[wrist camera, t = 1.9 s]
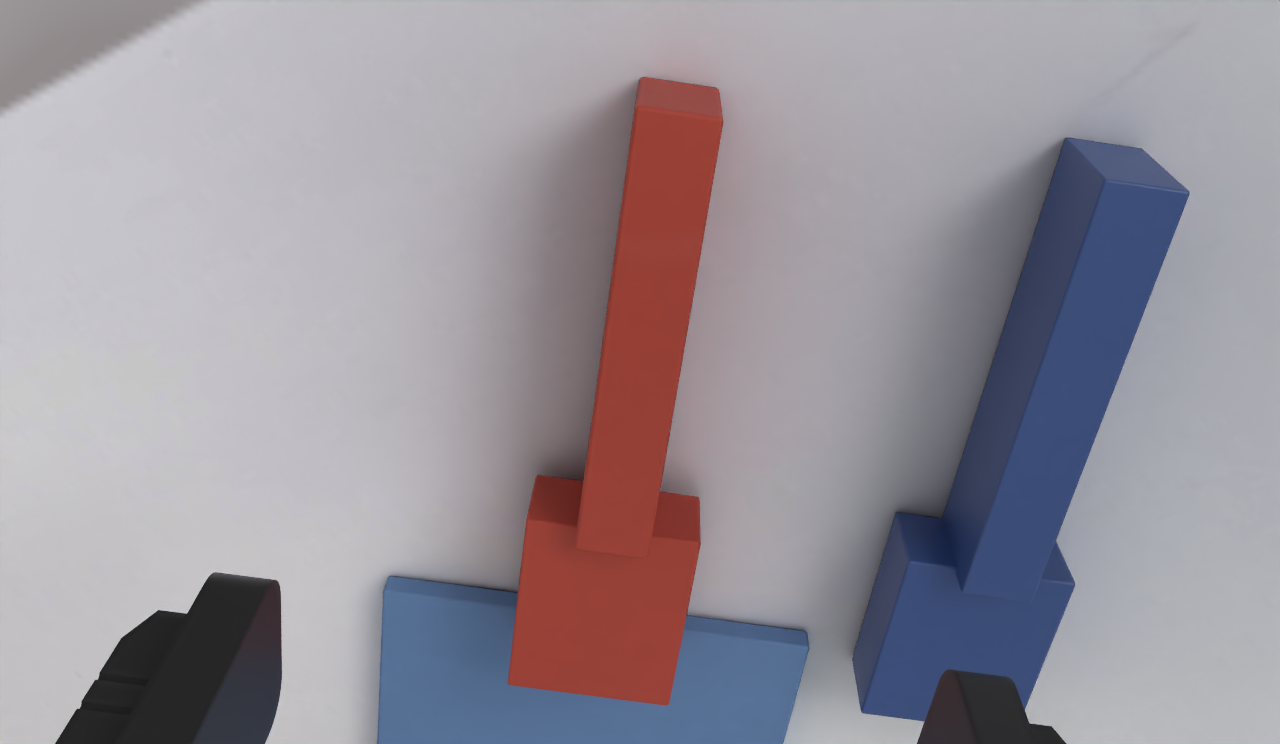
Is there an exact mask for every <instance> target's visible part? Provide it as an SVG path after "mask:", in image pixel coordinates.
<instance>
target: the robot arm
mask: <svg viewBox="0 0 1280 744" xmlns="http://www.w3.org/2000/svg"><path fill="white" fill-rule="evenodd" d="M281 680H282V656H281V592H280V586H279V583H278V581H276V580H271V579H263V578H255V577H247V576H240V575H232V574H224V573H216V572H215V573H213V574H211V575H210V576H209V577H208V579H207V580H206V582H205V583H204V585H203V587H202V589H201V590H200V592H199V594H198V596H197V597H196V599H195V601H194V603H193V605H192V606H191V608H190V610H189V612H188V613H187V614H184V613H176V612H168V611H160V610H158V611H157V612H155V613H154V614H153V615H152V616H150V617H149V618H148V619H146V620H145V621H144V622H142V623H141V624H140V625H138V626H137V627H136V628H134V629H133V630H132V631H130V632H129V633H128V634H126V635H125V636H124V637H122V638H121V640H120V641H119V643H118V644H117V646H116V648H115V649H114V651H113V652H112V654H111V656H110V657H109V659H108V660H107V662H106V664H105V665H104V667H103V668H102V670H101V672H100V675H99V679H98V680H95V681H94V683H93V684H92V686H91V687H90V689H89V691H88V692H87V694H86V695H85V697H84V699H83V700H82V704H81V707H80V709H77V710H76V711H75V713H74V714H73V716H72V718H71V719H70V721H69V722H68V724H67V726H66V727H65V729H64V730H63V732H62V734H61V735H60V737H59V738H58V740H57V742H56V743H55V744H265V742H266V740H267V737H268V735H269V733H270V730H271V727H272V725H273V721H274V718H275V715H276V711H277V706H278V702H279V696H280V690H281ZM917 744H1066V743H1065V742H1064V741H1063V739H1062V738H1061V737H1060V736H1059V735H1058V733H1057V732H1056V731H1055V730H1054V729H1053V728H1052V726H1044V725H1036V724H1029V721H1028V719H1027V716H1026V713H1025V710H1024V707H1023V705H1022V702H1021V699H1020V696H1019V693H1018V690H1017V688H1016V686H1015V684H1014V682H1013V680H1012V679H1011V678H1009V677H1006V676H998V675H990V674H982V673H975V672H967V671H959V670H951V669H948V670H946V671H945V672H944V673H943V674H942V676H941V678H940V680H939V682H938V685H937V688H936V691H935V694H934V697H933V700H932V702H931V705H930V708H929V711H928V714H927V717H926V719H925V722H924V725H923V728H922V731H921V734H920V737H919V739H918V742H917Z"/></svg>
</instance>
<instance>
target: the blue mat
mask: <svg viewBox="0 0 1280 744" xmlns="http://www.w3.org/2000/svg"><path fill="white" fill-rule="evenodd" d="M517 597H518V593H514V592H507V591H499V590H492V589H484V588H477V587H469V586H462V585H454V584H447V583H439V582H432V581H424V580H417V579H409V578H402V577H394V576H390V577H389V578H388V580H387V582H386V585H385V588H384V591H383V611H382V637H381V663H380V689H379V715H378V741H377V744H783V742H784V738H785V735H786V731H787V727H788V724H789V720H790V716H791V713H792V709H793V706H794V702H795V698H796V695H797V691H798V687H799V684H800V680H801V676H802V673H803V669H804V665H805V662H806V658H807V654H808V651H809V642H808V635H807V632H805V631H799V630H791V629H784V628H776V627H769V626H761V625H754V624H746V623H739V622H731V621H724V620H716V619H709V618H701V617H694V616H686V621H685V626H684V631H683V636H682V642H681V647H680V652H679V657H678V662H677V667H676V672H675V677H674V683H673V688H672V693H671V698H670V703H669V705H668V706H664V705H656V704H649V703H641V702H633V701H626V700H618V699H610V698H603V697H595V696H588V695H580V694H572V693H565V692H557V691H549V690H542V689H534V688H526V687H519V686H511V685H508V676H509V667H510V658H511V649H512V640H513V632H514V623H515V614H516V605H517Z"/></svg>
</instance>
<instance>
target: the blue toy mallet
mask: <svg viewBox="0 0 1280 744" xmlns="http://www.w3.org/2000/svg"><path fill="white" fill-rule="evenodd" d="M1188 196H1189V191H1188V190H1187V189H1186V188H1185V187H1184V186H1183V185H1181V184H1180V183H1179V182H1178V181H1177V180H1176V179H1175V178H1174V177H1173V176H1171V175H1170V174H1169V173H1168V172H1167V171H1166V170H1165V169H1164V168H1163V167H1162V166H1160V165H1159V164H1158V163H1157V162H1156V161H1155V160H1154V159H1153V158H1152V157H1150V156H1149V155H1148V154H1147V153H1146V152H1145V151H1144V150H1143V149H1141V148H1134V147H1127V146H1120V145H1114V144H1107V143H1100V142H1093V141H1086V140H1080V139H1073V138H1066V139H1065V140H1064V143H1063V146H1062V149H1061V153H1060V156H1059V159H1058V162H1057V165H1056V168H1055V171H1054V174H1053V177H1052V180H1051V183H1050V187H1049V190H1048V193H1047V196H1046V199H1045V202H1044V205H1043V208H1042V211H1041V214H1040V217H1039V221H1038V224H1037V227H1036V230H1035V233H1034V236H1033V239H1032V242H1031V245H1030V248H1029V251H1028V255H1027V258H1026V261H1025V264H1024V267H1023V270H1022V273H1021V276H1020V279H1019V282H1018V285H1017V289H1016V292H1015V295H1014V298H1013V301H1012V304H1011V307H1010V310H1009V313H1008V316H1007V319H1006V323H1005V326H1004V329H1003V332H1002V335H1001V338H1000V341H999V344H998V347H997V350H996V353H995V357H994V360H993V363H992V366H991V369H990V372H989V375H988V378H987V381H986V384H985V387H984V391H983V394H982V397H981V400H980V403H979V406H978V409H977V412H976V415H975V418H974V421H973V425H972V428H971V431H970V434H969V437H968V440H967V443H966V446H965V449H964V452H963V455H962V459H961V462H960V465H959V468H958V471H957V474H956V477H955V480H954V483H953V486H952V489H951V493H950V496H949V499H948V502H947V505H946V508H945V511H944V514H943V517H942V519H941V518H934V517H926V516H919V515H912V514H904V513H896V514H895V517H894V520H893V523H892V527H891V530H890V533H889V537H888V540H887V543H886V547H885V550H884V553H883V557H882V560H881V563H880V567H879V570H878V574H877V577H876V580H875V584H874V587H873V590H872V594H871V597H870V600H869V604H868V607H867V610H866V614H865V617H864V620H863V624H862V627H861V630H860V634H859V637H858V640H857V644H856V647H855V650H854V654H853V657H852V662H853V667H854V673H855V679H856V685H857V690H858V696H859V702H860V708H861V712H862V713H865V714H873V715H881V716H888V717H896V718H903V719H911V720H919V721H925V719H926V717H927V714H928V711H929V708H930V705H931V702H932V700H933V697H934V694H935V691H936V688H937V685H938V682H939V680H940V678H941V676H942V674H943V673H944V672H945V671H946V670H948V669H951V670H959V671H967V672H975V673H982V674H990V675H998V676H1006V677H1009V678H1011V679H1012V680H1013V682H1014V684H1015V686H1016V688H1017V690H1018V693H1019V696H1020V699H1021V702H1022V705H1023V707H1024V710H1025V708H1026V705H1027V703H1028V700H1029V698H1030V695H1031V693H1032V690H1033V688H1034V685H1035V683H1036V680H1037V678H1038V675H1039V673H1040V671H1041V668H1042V666H1043V663H1044V661H1045V658H1046V656H1047V653H1048V651H1049V648H1050V646H1051V643H1052V641H1053V638H1054V636H1055V634H1056V631H1057V629H1058V626H1059V624H1060V621H1061V619H1062V616H1063V614H1064V611H1065V609H1066V606H1067V604H1068V602H1069V599H1070V597H1071V594H1072V592H1073V589H1074V587H1075V582H1074V580H1073V577H1072V575H1071V573H1070V571H1069V569H1068V566H1067V564H1066V562H1065V560H1064V558H1063V556H1062V553H1061V551H1060V549H1059V547H1058V545H1057V542H1056V538H1057V536H1058V533H1059V531H1060V528H1061V525H1062V523H1063V520H1064V518H1065V515H1066V512H1067V510H1068V507H1069V505H1070V502H1071V499H1072V497H1073V494H1074V492H1075V489H1076V487H1077V484H1078V481H1079V479H1080V476H1081V474H1082V471H1083V468H1084V466H1085V463H1086V461H1087V458H1088V455H1089V453H1090V450H1091V448H1092V445H1093V443H1094V440H1095V437H1096V435H1097V432H1098V430H1099V427H1100V424H1101V422H1102V419H1103V417H1104V414H1105V411H1106V409H1107V406H1108V404H1109V401H1110V398H1111V396H1112V393H1113V391H1114V388H1115V386H1116V383H1117V380H1118V378H1119V375H1120V373H1121V370H1122V367H1123V365H1124V362H1125V360H1126V357H1127V354H1128V352H1129V349H1130V347H1131V344H1132V341H1133V339H1134V336H1135V334H1136V331H1137V329H1138V326H1139V323H1140V321H1141V318H1142V316H1143V313H1144V310H1145V308H1146V305H1147V303H1148V300H1149V297H1150V295H1151V292H1152V290H1153V287H1154V285H1155V282H1156V279H1157V277H1158V274H1159V272H1160V269H1161V266H1162V264H1163V261H1164V259H1165V256H1166V253H1167V251H1168V248H1169V246H1170V243H1171V240H1172V238H1173V235H1174V233H1175V230H1176V228H1177V225H1178V222H1179V220H1180V217H1181V215H1182V212H1183V209H1184V207H1185V204H1186V202H1187V199H1188Z"/></svg>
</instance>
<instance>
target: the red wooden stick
mask: <svg viewBox="0 0 1280 744" xmlns="http://www.w3.org/2000/svg"><path fill="white" fill-rule="evenodd" d="M722 127H723V116H722V108H721V101H720V93H719V89H717V88H714V87H707V86H700V85H694V84H687V83H680V82H673V81H667V80H660V79H653V78H646V77H643V78H641V79H640V80H639V84H638V91H637V97H636V103H635V109H634V116H633V124H632V131H631V138H630V145H629V153H628V160H627V167H626V175H625V182H624V189H623V196H622V204H621V211H620V218H619V226H618V233H617V240H616V247H615V255H614V262H613V269H612V276H611V284H610V291H609V298H608V306H607V313H606V320H605V327H604V335H603V342H602V349H601V357H600V364H599V371H598V378H597V386H596V393H595V400H594V407H593V415H592V422H591V429H590V437H589V444H588V451H587V458H586V466H585V473H584V480H583V481H578V480H571V479H563V478H556V477H549V476H542V475H537V476H536V478H535V483H534V487H533V492H532V496H531V501H530V505H529V510H528V514H527V519H526V526H525V535H524V544H523V553H522V562H521V570H520V579H519V588H518V597H517V605H516V614H515V623H514V632H513V640H512V649H511V658H510V667H509V676H508V685H511V686H519V687H526V688H534V689H542V690H549V691H557V692H565V693H572V694H580V695H588V696H595V697H603V698H610V699H618V700H626V701H633V702H641V703H649V704H656V705H664V706H668V705H669V703H670V698H671V693H672V688H673V683H674V677H675V672H676V667H677V662H678V657H679V652H680V647H681V642H682V636H683V631H684V626H685V621H686V616H687V611H688V606H689V600H690V595H691V590H692V585H693V580H694V575H695V570H696V564H697V559H698V554H699V549H700V544H701V541H700V501H699V497H695V496H688V495H680V494H673V493H666V492H660V487H661V481H662V475H663V470H664V464H665V458H666V452H667V446H668V440H669V435H670V429H671V423H672V417H673V411H674V406H675V400H676V394H677V388H678V382H679V377H680V371H681V365H682V359H683V353H684V347H685V342H686V336H687V330H688V324H689V318H690V313H691V307H692V301H693V295H694V289H695V284H696V278H697V272H698V266H699V260H700V255H701V249H702V243H703V237H704V231H705V225H706V220H707V214H708V208H709V202H710V196H711V191H712V185H713V179H714V173H715V167H716V162H717V156H718V150H719V144H720V138H721V132H722Z"/></svg>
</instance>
